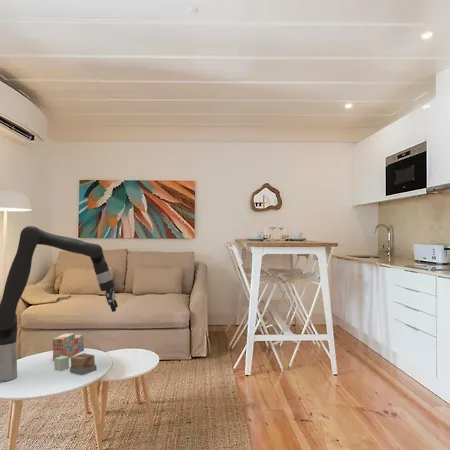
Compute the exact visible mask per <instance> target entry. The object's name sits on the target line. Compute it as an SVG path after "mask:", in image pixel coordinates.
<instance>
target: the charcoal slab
mask: <svg viewBox="0 0 450 450" xmlns="http://www.w3.org/2000/svg"><path fill="white" fill-rule="evenodd" d="M95 371H97V364H95V365H94V366H91V367H88V368H85V369H82V370H80V369H76V368H71V366H69V373H70V372H71V373H70V374H74V373H75V374H74V375H78V374H79V376H84V375H88V374H89V373H92V372H95Z"/></svg>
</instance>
